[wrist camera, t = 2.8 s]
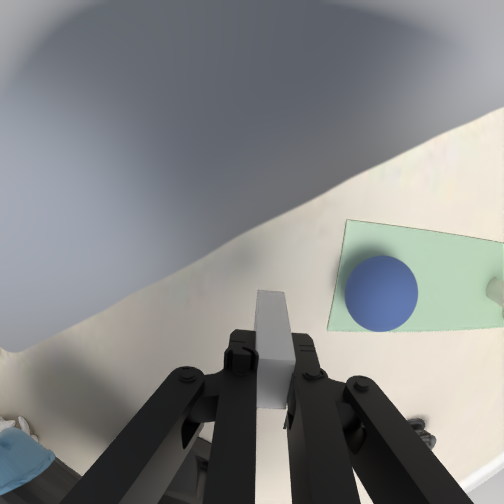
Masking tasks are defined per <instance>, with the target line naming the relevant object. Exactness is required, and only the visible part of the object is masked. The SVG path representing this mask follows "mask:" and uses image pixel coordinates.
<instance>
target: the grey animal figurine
mask: <svg viewBox="0 0 504 504" xmlns="http://www.w3.org/2000/svg"><path fill="white" fill-rule="evenodd" d="M18 420H19V424H20V426H21V428H22V430H23V431H24V432H26V433H27V434H28V435H29V436H30V437H32V438H33V439H34V440H35V441H37V442H38V438H37V437H36V435H30V430H29V426H28V423H27V422H26V421H25V419H24V418H23V417H22V416H19V417H18ZM15 424H16V422H15V420H11V421H6V420H4V419H3V418H2V415H1V417H0V432H1V431H2V430H3V429H5V428H8V427H13V426H15Z"/></svg>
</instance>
